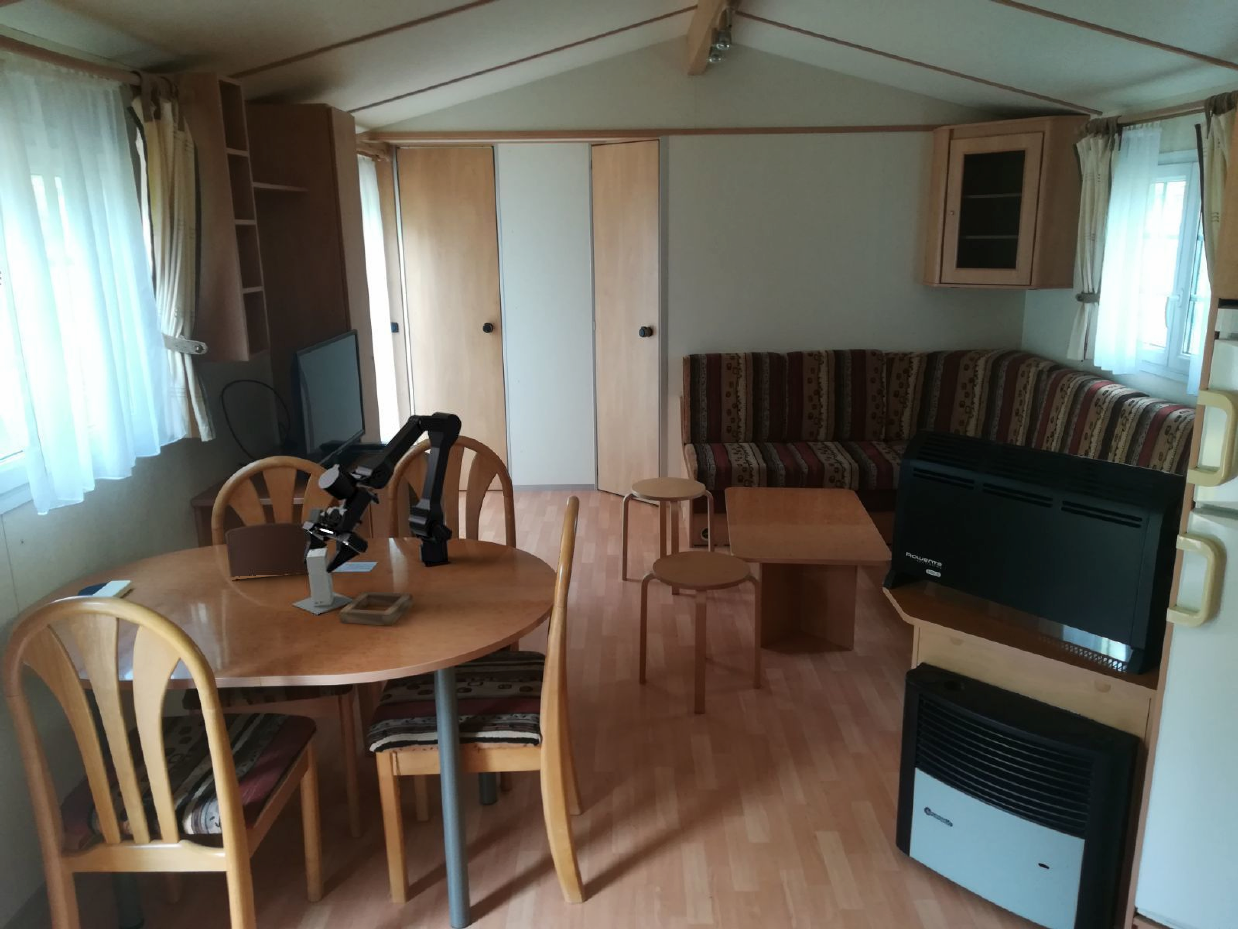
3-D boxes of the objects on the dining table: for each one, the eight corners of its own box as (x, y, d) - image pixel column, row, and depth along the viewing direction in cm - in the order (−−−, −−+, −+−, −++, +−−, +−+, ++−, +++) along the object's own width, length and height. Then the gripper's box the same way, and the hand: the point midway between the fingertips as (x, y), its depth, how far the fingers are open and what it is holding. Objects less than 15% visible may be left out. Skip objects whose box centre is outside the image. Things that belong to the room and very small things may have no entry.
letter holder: (313, 574, 233) (306, 521, 229) (230, 581, 229) (223, 528, 226) (317, 561, 242) (311, 510, 239) (238, 568, 239) (231, 516, 235)
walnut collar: (365, 601, 213) (364, 591, 213) (413, 604, 211) (412, 594, 210) (340, 622, 202) (338, 612, 201) (390, 625, 200) (389, 614, 199)
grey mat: (329, 592, 220) (328, 590, 220) (354, 601, 214) (354, 599, 214) (292, 605, 212) (291, 604, 212) (317, 615, 206) (316, 613, 206)
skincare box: (332, 605, 211) (326, 555, 208) (311, 607, 210) (305, 557, 207) (334, 595, 217) (329, 547, 214) (314, 597, 216) (309, 548, 213)
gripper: (304, 487, 216) (267, 544, 210) (352, 499, 204) (314, 559, 199) (336, 510, 224) (302, 566, 218) (384, 523, 212) (349, 582, 207)
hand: (315, 568), depth 210 cm, fingers open, 9 cm apart
